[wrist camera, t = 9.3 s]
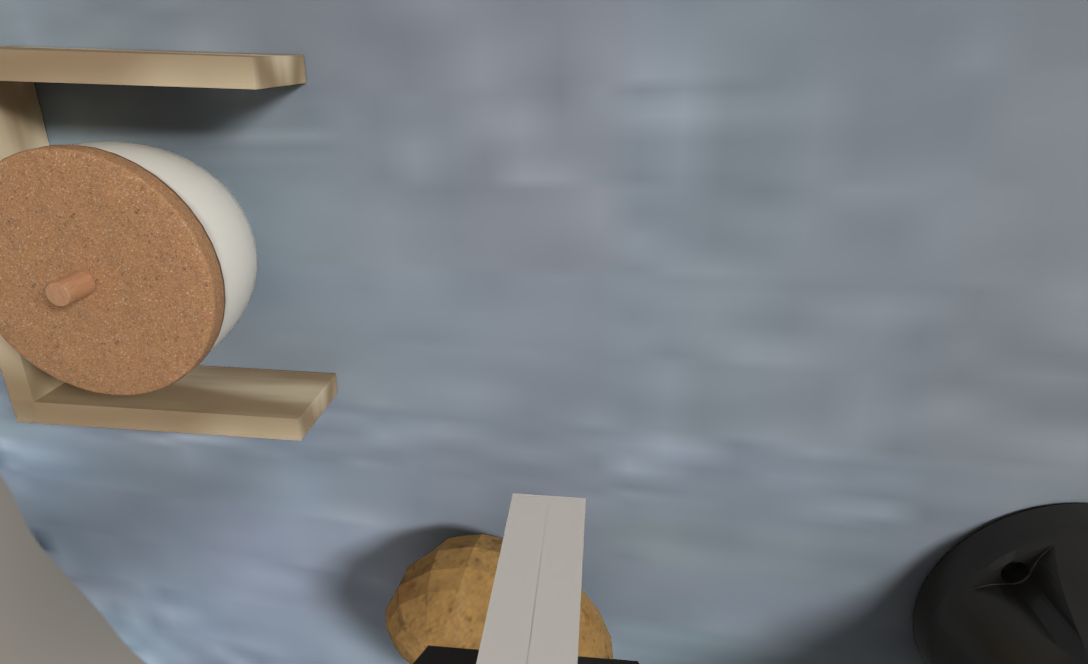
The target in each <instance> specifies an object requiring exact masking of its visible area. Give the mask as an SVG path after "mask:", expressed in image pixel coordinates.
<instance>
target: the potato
mask: <svg viewBox="0 0 1088 664" xmlns="http://www.w3.org/2000/svg"><path fill="white" fill-rule="evenodd" d="M502 542H503V538H499V537H495V536H490V535H486V534H477V535H463V536H457V537H452V538H448V539H446V540H445V541H444V542H443V543H441V544H440V545H439V546H438V547H436V548H435V549H434V550H432V551H431V552H430V553H428V554H427V555H425V556H424V557H422V558H421V559H419V560H418V561H416V562H415V563H413V564H412V565H410V566H409V567H408V568H407V570H406V572H405V574H404V576H403V579H402V581H401V583H400V585H399V587H398V589H397V591H396V592H395V594H394V596H393V598H392V599H391V601H390V603H389V605H388V607H387V608H386V628H387V630H388V632H389V634H390V637H391V639H392V641H393V643H394V646H395V647H396V649H397V650H398V651H399V653H400V654H401V655H402V656H403V657H404V658H405V659H406V660H407V661H408V662H409V663H410V664H413V663H414V662H415V661H416V660H417V658H418V657H419V656H420V655H421V654H422V652H423V651H424V650H425V649H426V648H427V646H428V645H430V646H441V647H453V648H465V649H477V650H479V648H480V644H481V639H482V634H483V630H484V625H485V620H486V616H487V611H488V607H489V602H490V597H491V593H492V588H493V583H494V579H495V574H496V569H497V565H498V560H499V556H500V551H501V546H502ZM578 656H581V657H593V658H605V659H613V652H612V644H611V637H610V634H609V632H608V630H607V628H606V625H605V623H604V621H603V619H602V617H601V614H600V612H599V611H598V609H597V608H596V607H595V606H594V604H593V603H592V602H591V601H590V599H589V598H588V597H587V596H586V594H585V593H584V592H583V591H582V590H581V603H580V623H579V643H578Z"/></svg>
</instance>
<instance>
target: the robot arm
mask: <svg viewBox="0 0 1088 664" xmlns="http://www.w3.org/2000/svg"><path fill="white" fill-rule="evenodd" d="M585 503H586V498H574V497H559V496H544V495H530V494H515V493H513V495H512V500H511V505H510V509H509V514H508V519H507V523H506V528H505V532H504V537H503V542H502V546H501V551H500V556H499V560H498V565H497V569H496V574H495V579H494V583H493V588H492V593H491V597H490V602H489V607H488V611H487V616H486V620H485V625H484V630H483V634H482V639H481V644H480V648H479V650H477V649H465V648H453V647H441V646H430V645H428V646H427V648H426V649H425V650H424V651H423V652H422V654H421V655H420V656H419V657H418V658H417V660H416V661H415V662H414V663H413V664H639V663H638V661H628V660H617V659H605V658H593V657H581V656H578V643H579V623H580V603H581V583H582V563H583V543H584V523H585ZM913 629H914V636H915V640H916V644H917V646H918V649H919V651H920V653H921V655H922V657H923V659H924V661H925V663H926V664H1088V503H1070V504H1059V505H1051V506H1046V507H1040V508H1036V509H1032V510H1028V511H1024V512H1021V513H1018V514H1015V515H1012V516H1009V517H1006V518H1004V519H1002V520H999V521H997V522H995V523H993V524H991V525H989V526H987V527H985V528H983V529H981V530H979V531H978V532H976V533H974V534H973V535H971V536H970V537H968V538H967V539H965V540H964V541H962V542H961V543H960V544H958V545H957V546H956V547H955V548H954V549H952V550H951V551H950V552H949V553H948V554H947V555H946V556H945V557H944V558H943V559H942V560H941V561H940V562H939V563H938V564H937V566H936V567H935V568H934V569H933V571H932V572H931V573H930V575H929V576H928V578H927V579H926V581H925V583H924V585H923V587H922V589H921V591H920V593H919V596H918V599H917V601H916V605H915V610H914V617H913Z"/></svg>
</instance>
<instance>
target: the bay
mask: <svg viewBox="0 0 1088 664" xmlns="http://www.w3.org/2000/svg"><path fill="white" fill-rule="evenodd" d="M34 82H51V83H81V84H111V85H140V86H170V87H200V88H229V89H264V88H271V87H279V86H287V85H294V84H302V83H306V75H305V65H304V55H284V54H251V53H218V52H185V51H152V50H119V49H87V48H54V47H21V46H0V161H1V160H2V159H4V158H6V157H9V156H11V155H13V154H15V153H18V152H20V151H25V150H29V149H34V148H39V147H44V146H49V142H48V138H47V134H46V130H45V126H44V121H43V117H42V113H41V109H40V105H39V101H38V97H37V93H36V89H35V85H34ZM0 368H1V371H2V374H3V377H4V381H5V384H6V387H7V390H8V394H9V397H10V400H11V403H12V407H13V410H14V413H15V416H16V420H17V422H28V423H43V424H58V425H73V426H88V427H103V428H118V429H133V430H148V431H163V432H178V433H194V434H209V435H224V436H239V437H254V438H269V439H284V440H299V441H301V440H302V439H303V437H304V436H305V435H306V434H307V432H308V431H309V430H310V428H311V427H312V426H313V424H314V423H315V422H316V420H317V419H318V418H319V416H320V415H321V414H322V413H323V411H324V410H325V409H326V407H327V406H328V405H329V403H330V402H331V401H332V399H333V398H334V397H335V396H336V394H337V384H336V374H334V373H317V372H300V371H284V370H267V369H250V368H234V367H217V366H200V365H197V366H196V367H195V368H194V369H193V370H191V371H190V372H189V373H188V374H187V375H185V376H184V377H183V378H181V379H180V380H178V381H177V382H175V383H173V384H171V385H169V386H167V387H166V388H163V389H160V390H156V391H153V392H150V393H144V394H138V395H110V394H104V393H97V392H92V391H89V390H85V389H82V388H79V387H75V386H73V385H70V384H68V383H66V382H63V381H61V380H58V379H56V378H55V377H53V376H51V375H49V374H48V373H46V372H44V371H43V370H41V369H39V368H38V367H36V366H35V365H34V364H32V363H31V362H29V361H28V360H27V359H25V358H24V357H22V356H21V355H20V354H19V353H18V352H17V351H16V350H15V349H14V348H13V347H12V346H11V345H10V344H9V343H7V341H6V340H5V339H4V338H3V337H2V336H1V335H0Z"/></svg>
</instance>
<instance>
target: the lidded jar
mask: <svg viewBox="0 0 1088 664" xmlns="http://www.w3.org/2000/svg"><path fill="white" fill-rule="evenodd" d="M257 267H258V261H257V249H256V243H255V238H254V235H253V232H252V229H251V226H250V224H249V221H248V219H247V217H246V215H245V213H244V212H243V210H242V208H241V206H240V205H239V203H238V202H237V201H236V199H235V198H234V196H233V195H232V194H231V193H230V192H229V190H228V189H227V188H226V187H225V186H224V185H223V184H222V183H221V182H220V181H219V180H218V179H217V178H215V177H214V176H213V175H212V174H211V173H210V172H208V171H207V170H205V169H204V168H202V167H201V166H199V165H198V164H196V163H194V162H193V161H190V160H188V159H186V158H184V157H182V156H180V155H178V154H175V153H173V152H171V151H168V150H164V149H161V148H158V147H154V146H149V145H142V144H135V143H128V142H87V143H79V144H73V145H50V146H44V147H39V148H34V149H29V150H25V151H20V152H18V153H15V154H13V155H11V156H9V157H6V158H4V159H2V160H1V161H0V335H1V336H2V337H3V338H4V339H5V340H6V341H7V343H9V344H10V345H11V346H12V347H13V348H14V349H15V350H16V351H17V352H18V353H19V354H20V355H21V356H22V357H24V358H25V359H27V360H28V361H29V362H31V363H32V364H34V365H35V366H36V367H38V368H39V369H41V370H43V371H44V372H46V373H48V374H49V375H51V376H53V377H55V378H56V379H58V380H61V381H63V382H66V383H68V384H70V385H73V386H75V387H79V388H82V389H85V390H89V391H92V392H97V393H104V394H110V395H138V394H144V393H150V392H153V391H156V390H160V389H163V388H166V387H167V386H169V385H171V384H173V383H175V382H177V381H178V380H180V379H181V378H183V377H184V376H185V375H187V374H188V373H189V372H190V371H191V370H193V369H194V368H195V367H196V366H197V365H199V364H200V363H201V362H202V360H203V359H204V358H205V357H206V355H207V354H208V353H210V352H211V351H212V350H213V349H214V348H215V347H217V346H218V345H219V344H220V343H221V342H222V341H223V340H224V339H225V337H226V336H227V335H228V334H229V333H230V331H231V330H232V329H233V328H234V326H235V325H236V324H237V323H238V321H239V320H240V318H241V316H242V315H243V313H244V311H245V309H246V307H247V305H248V304H249V302H250V300H251V297H252V293H253V290H254V287H255V282H256V275H257Z"/></svg>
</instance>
